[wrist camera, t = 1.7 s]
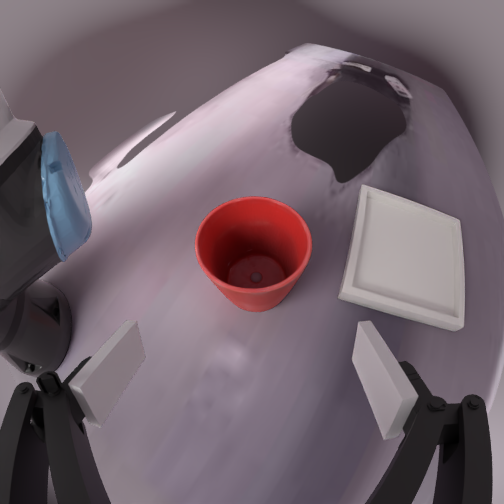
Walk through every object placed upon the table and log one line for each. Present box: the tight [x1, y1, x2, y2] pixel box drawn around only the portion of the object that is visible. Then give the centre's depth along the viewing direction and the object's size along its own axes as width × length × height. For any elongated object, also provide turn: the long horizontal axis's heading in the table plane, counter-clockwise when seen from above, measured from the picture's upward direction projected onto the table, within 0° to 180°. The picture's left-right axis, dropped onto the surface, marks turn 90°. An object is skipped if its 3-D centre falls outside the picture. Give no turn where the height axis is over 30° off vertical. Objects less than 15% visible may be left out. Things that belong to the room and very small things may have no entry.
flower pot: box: [195, 196, 312, 312], centre depth 29 cm, size 11×11×10 cm
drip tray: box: [338, 184, 465, 332], centre depth 32 cm, size 18×18×2 cm
